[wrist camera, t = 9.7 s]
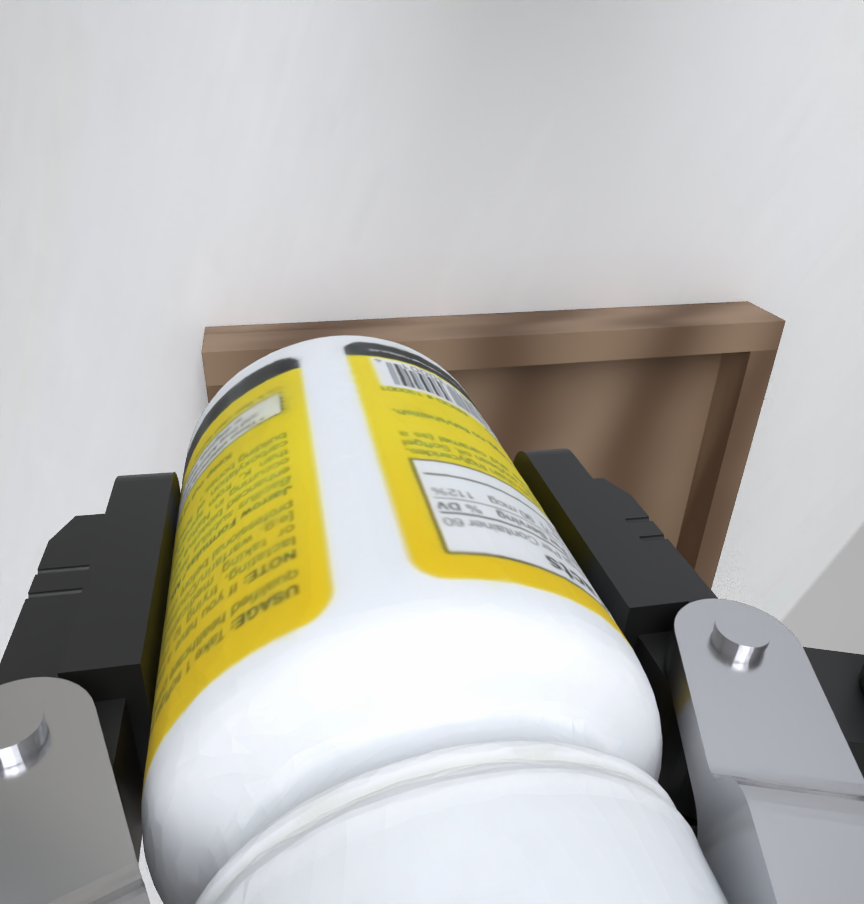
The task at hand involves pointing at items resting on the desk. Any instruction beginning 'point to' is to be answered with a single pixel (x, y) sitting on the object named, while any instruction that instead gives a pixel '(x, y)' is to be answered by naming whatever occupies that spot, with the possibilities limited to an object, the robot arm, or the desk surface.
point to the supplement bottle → (391, 664)
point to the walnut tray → (592, 393)
